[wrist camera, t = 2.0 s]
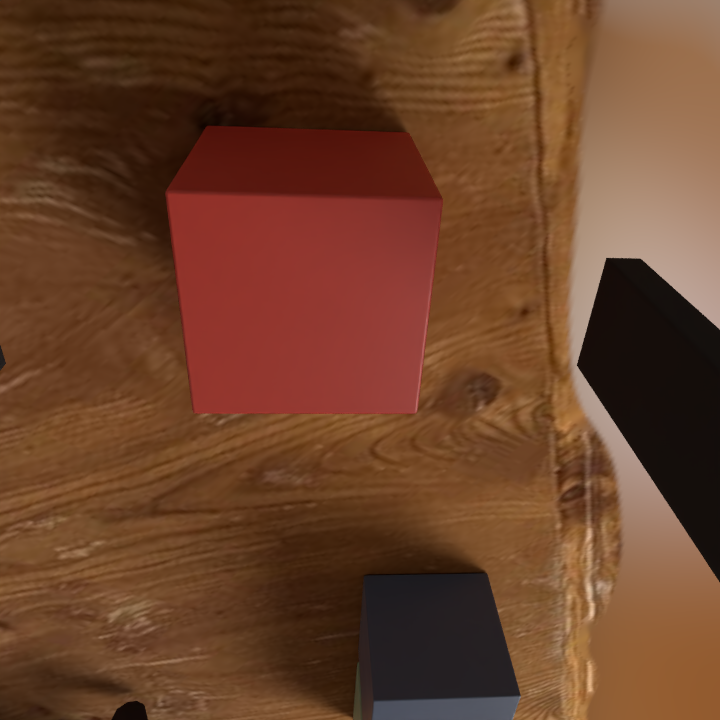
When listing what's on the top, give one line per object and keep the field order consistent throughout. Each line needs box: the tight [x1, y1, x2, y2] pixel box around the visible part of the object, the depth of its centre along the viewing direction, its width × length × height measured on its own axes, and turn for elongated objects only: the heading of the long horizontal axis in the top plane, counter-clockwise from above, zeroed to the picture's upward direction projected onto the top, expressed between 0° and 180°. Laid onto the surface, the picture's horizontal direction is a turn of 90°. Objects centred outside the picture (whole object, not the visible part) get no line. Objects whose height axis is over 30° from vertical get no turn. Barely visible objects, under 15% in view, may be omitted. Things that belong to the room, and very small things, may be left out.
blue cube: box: [358, 573, 521, 720], centre depth 24 cm, size 5×5×5 cm
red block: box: [165, 126, 443, 414], centre depth 15 cm, size 5×5×5 cm
